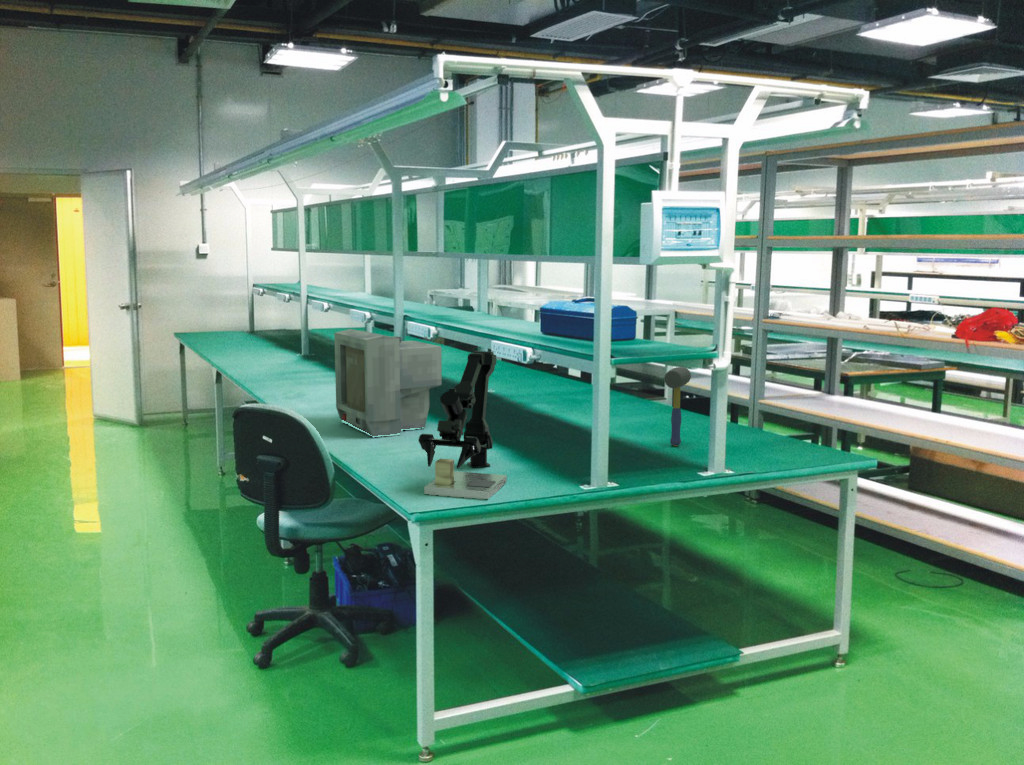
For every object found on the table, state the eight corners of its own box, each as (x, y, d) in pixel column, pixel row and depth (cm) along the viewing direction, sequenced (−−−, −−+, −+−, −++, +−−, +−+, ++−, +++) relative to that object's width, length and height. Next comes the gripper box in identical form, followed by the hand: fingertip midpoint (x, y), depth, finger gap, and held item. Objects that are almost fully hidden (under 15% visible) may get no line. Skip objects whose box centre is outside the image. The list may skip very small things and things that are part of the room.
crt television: (335, 423, 369) (333, 329, 363) (414, 415, 388) (413, 326, 382) (369, 439, 336) (367, 337, 330) (453, 430, 355) (452, 333, 349)
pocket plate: (446, 478, 279) (446, 469, 278) (506, 482, 273) (506, 474, 273) (424, 494, 259) (424, 485, 259) (488, 499, 254) (488, 490, 254)
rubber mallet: (671, 441, 335) (673, 365, 331) (689, 444, 332) (692, 366, 327) (660, 448, 324) (662, 368, 320) (679, 450, 321) (682, 370, 316)
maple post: (440, 488, 266) (440, 458, 265) (454, 489, 265) (453, 459, 264) (435, 492, 262) (435, 461, 261) (449, 493, 261) (449, 462, 259)
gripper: (420, 407, 266) (407, 450, 257) (478, 411, 261) (466, 454, 252) (429, 428, 275) (417, 470, 266) (485, 431, 270) (474, 474, 261)
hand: (443, 467), depth 261 cm, fingers open, 9 cm apart
